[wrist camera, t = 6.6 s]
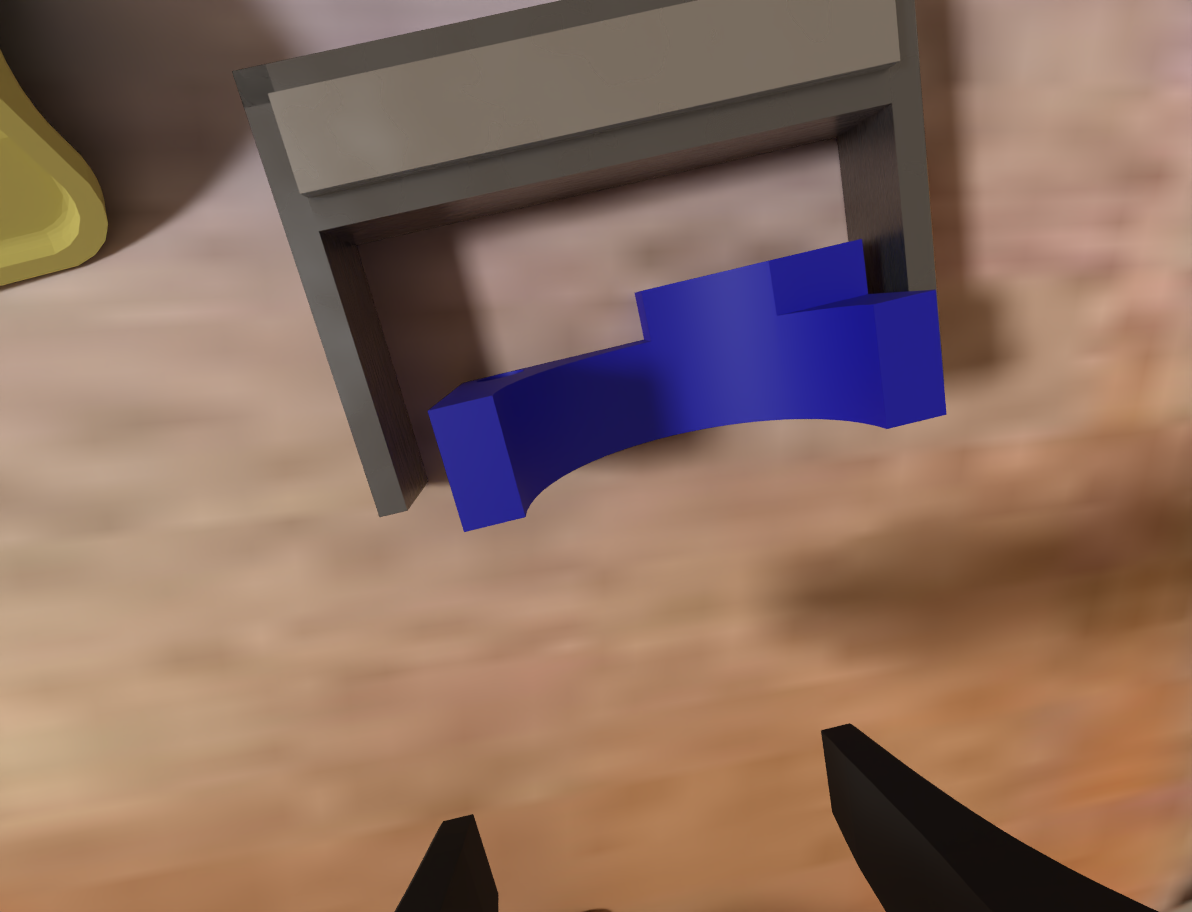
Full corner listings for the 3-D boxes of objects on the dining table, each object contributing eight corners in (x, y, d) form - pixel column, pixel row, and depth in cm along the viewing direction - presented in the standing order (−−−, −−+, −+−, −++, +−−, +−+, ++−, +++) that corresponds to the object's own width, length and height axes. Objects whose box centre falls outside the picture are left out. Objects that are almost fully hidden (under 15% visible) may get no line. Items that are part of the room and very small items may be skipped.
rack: (898, 371, 20) (969, 382, 17) (404, 487, 20) (374, 523, 16) (861, -13, 17) (937, -92, 14) (286, 113, 17) (220, 62, 14)
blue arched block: (814, 250, 19) (930, 222, 13) (832, 386, 20) (946, 414, 14) (450, 336, 19) (407, 345, 13) (488, 469, 20) (463, 531, 14)
